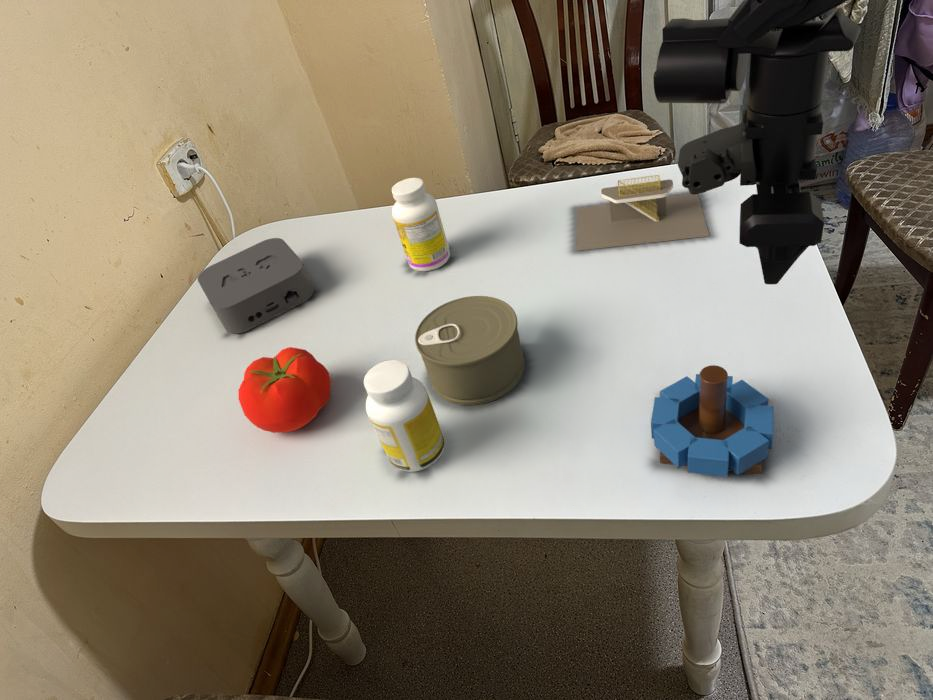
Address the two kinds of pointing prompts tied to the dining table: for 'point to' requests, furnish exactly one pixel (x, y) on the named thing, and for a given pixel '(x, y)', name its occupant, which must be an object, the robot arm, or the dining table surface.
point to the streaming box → (256, 285)
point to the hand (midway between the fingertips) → (769, 255)
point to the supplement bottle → (419, 225)
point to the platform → (640, 216)
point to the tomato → (284, 390)
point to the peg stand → (712, 412)
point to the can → (471, 349)
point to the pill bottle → (403, 416)
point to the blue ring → (711, 452)
